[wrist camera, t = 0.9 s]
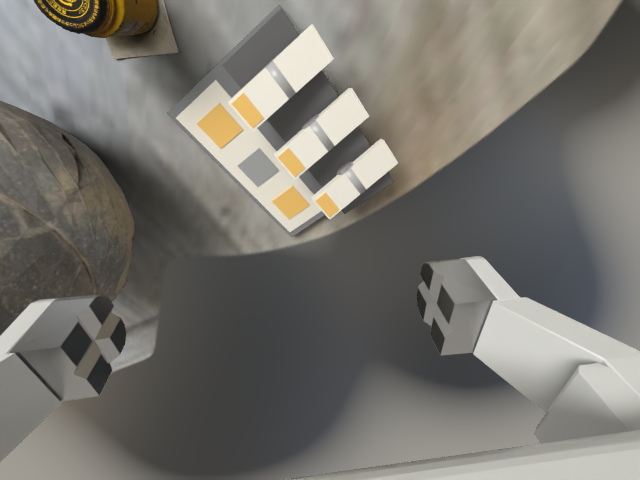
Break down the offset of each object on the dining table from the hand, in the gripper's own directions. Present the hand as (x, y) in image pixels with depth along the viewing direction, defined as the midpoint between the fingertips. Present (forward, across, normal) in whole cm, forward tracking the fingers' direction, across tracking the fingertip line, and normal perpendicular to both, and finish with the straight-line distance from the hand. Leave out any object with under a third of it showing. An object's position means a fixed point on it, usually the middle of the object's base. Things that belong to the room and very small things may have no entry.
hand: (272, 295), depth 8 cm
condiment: (+37, +15, -8) cm, 41 cm away
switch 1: (+31, 0, -1) cm, 31 cm away
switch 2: (+31, -4, +4) cm, 32 cm away
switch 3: (+31, -8, +10) cm, 34 cm away
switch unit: (+37, 0, +7) cm, 38 cm away
